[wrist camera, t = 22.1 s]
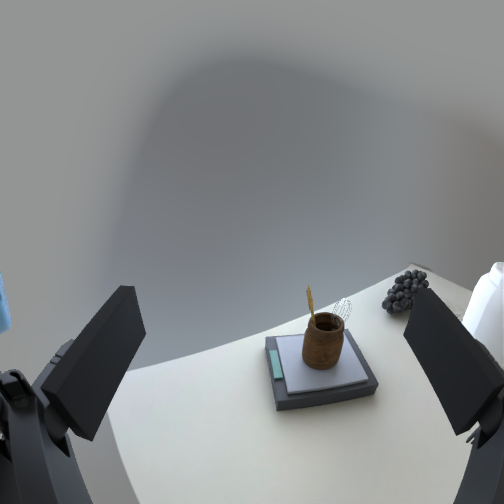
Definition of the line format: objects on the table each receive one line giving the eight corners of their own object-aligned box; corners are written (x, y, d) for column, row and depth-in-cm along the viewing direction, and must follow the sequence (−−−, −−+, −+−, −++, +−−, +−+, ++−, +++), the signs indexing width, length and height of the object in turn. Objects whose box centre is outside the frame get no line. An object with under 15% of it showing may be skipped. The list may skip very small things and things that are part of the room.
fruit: (396, 283, 47) (435, 267, 52) (368, 278, 55) (409, 265, 60) (396, 324, 48) (434, 303, 53) (370, 316, 56) (410, 298, 61)
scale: (276, 411, 33) (278, 398, 32) (265, 347, 46) (265, 334, 45) (374, 394, 34) (379, 381, 33) (345, 339, 47) (348, 326, 46)
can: (481, 346, 38) (516, 257, 30) (503, 387, 27) (553, 290, 19) (436, 349, 40) (471, 252, 33) (455, 397, 29) (510, 289, 22)
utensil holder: (337, 374, 35) (354, 306, 31) (295, 367, 37) (303, 298, 33) (340, 348, 40) (354, 283, 36) (303, 342, 42) (310, 277, 38)
